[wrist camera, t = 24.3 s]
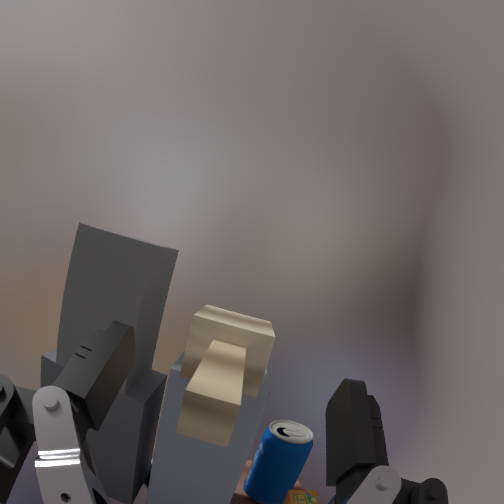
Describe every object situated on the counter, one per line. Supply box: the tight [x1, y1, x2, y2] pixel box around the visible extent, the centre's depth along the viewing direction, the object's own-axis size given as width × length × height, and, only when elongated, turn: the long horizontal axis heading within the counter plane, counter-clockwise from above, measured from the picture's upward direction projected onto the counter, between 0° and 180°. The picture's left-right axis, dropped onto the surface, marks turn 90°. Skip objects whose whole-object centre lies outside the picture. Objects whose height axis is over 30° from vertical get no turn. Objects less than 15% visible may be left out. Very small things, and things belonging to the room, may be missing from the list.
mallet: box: [176, 305, 275, 447], centre depth 19 cm, size 16×6×5 cm, turn 179°
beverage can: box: [244, 420, 313, 504], centre depth 32 cm, size 6×6×12 cm
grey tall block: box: [146, 351, 269, 504], centre depth 26 cm, size 8×10×21 cm
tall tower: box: [41, 223, 178, 504], centre depth 27 cm, size 12×8×30 cm, turn 89°
